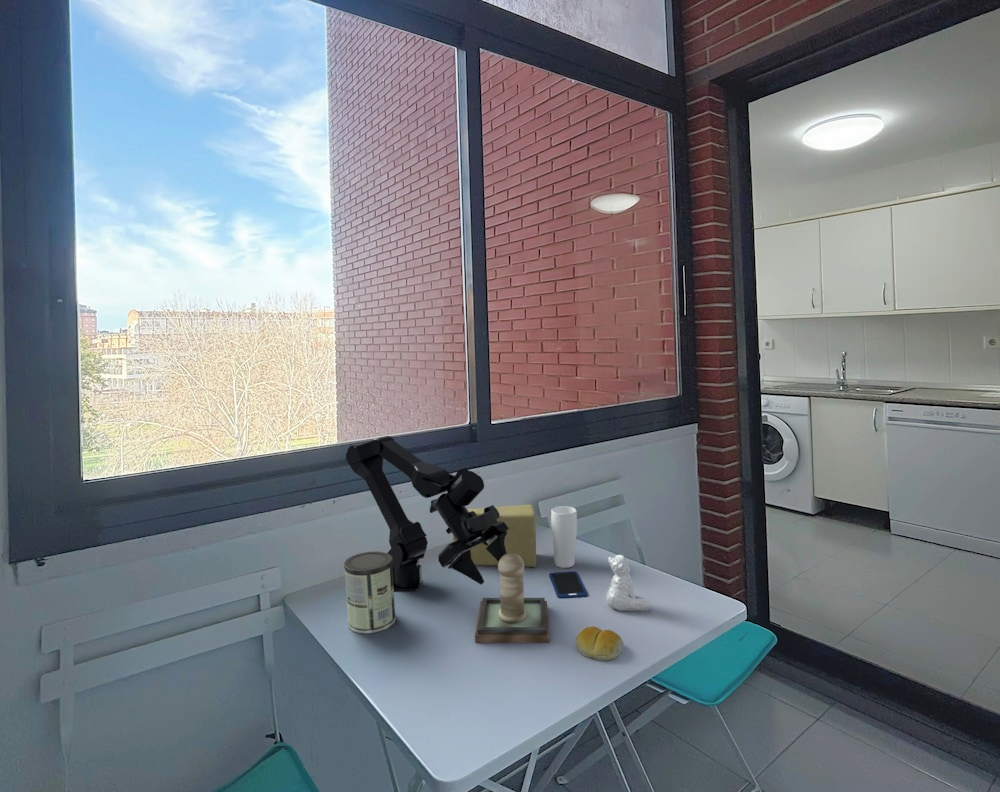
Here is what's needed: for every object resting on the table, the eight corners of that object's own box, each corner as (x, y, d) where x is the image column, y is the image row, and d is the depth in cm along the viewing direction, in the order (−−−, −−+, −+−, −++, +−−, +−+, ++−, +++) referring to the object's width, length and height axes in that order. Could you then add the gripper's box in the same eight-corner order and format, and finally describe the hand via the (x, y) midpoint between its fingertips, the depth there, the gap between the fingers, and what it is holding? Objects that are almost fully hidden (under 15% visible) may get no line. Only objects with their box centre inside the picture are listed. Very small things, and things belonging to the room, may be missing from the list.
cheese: (452, 571, 155) (450, 516, 153) (454, 557, 165) (452, 504, 163) (537, 568, 156) (535, 513, 154) (533, 554, 166) (532, 502, 164)
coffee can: (364, 607, 137) (360, 549, 135) (404, 614, 133) (401, 553, 131) (337, 630, 127) (333, 567, 125) (380, 637, 124) (376, 572, 122)
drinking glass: (576, 570, 154) (576, 514, 152) (550, 569, 155) (549, 513, 153) (578, 560, 160) (577, 506, 158) (553, 558, 162) (552, 505, 160)
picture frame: (475, 642, 121) (474, 631, 120) (480, 607, 135) (480, 596, 135) (549, 642, 120) (549, 630, 119) (546, 607, 135) (546, 596, 134)
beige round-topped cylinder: (507, 626, 123) (505, 562, 121) (493, 613, 129) (491, 552, 127) (531, 618, 126) (530, 555, 124) (517, 606, 131) (515, 546, 130)
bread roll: (585, 634, 123) (585, 616, 122) (627, 646, 118) (627, 627, 118) (568, 653, 116) (568, 634, 116) (611, 667, 111) (611, 647, 111)
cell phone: (557, 600, 139) (557, 597, 139) (548, 575, 152) (548, 572, 152) (588, 598, 139) (588, 595, 139) (576, 573, 153) (576, 570, 153)
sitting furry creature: (652, 611, 132) (653, 559, 130) (620, 619, 128) (620, 566, 127) (627, 593, 140) (628, 544, 139) (596, 601, 137) (596, 551, 136)
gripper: (446, 508, 123) (489, 572, 117) (501, 486, 137) (541, 542, 132) (420, 536, 129) (460, 598, 123) (476, 513, 143) (513, 568, 138)
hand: (496, 575), depth 129 cm, fingers open, 9 cm apart
